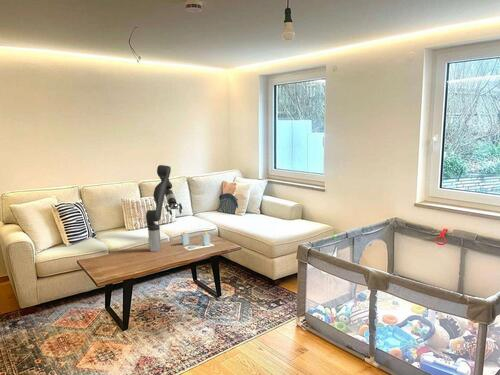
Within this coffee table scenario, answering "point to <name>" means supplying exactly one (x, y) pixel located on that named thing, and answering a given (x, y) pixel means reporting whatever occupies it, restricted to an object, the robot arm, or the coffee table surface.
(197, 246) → the card
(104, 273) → the coffee table surface
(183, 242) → the post
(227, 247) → the coffee table surface
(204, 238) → the post
